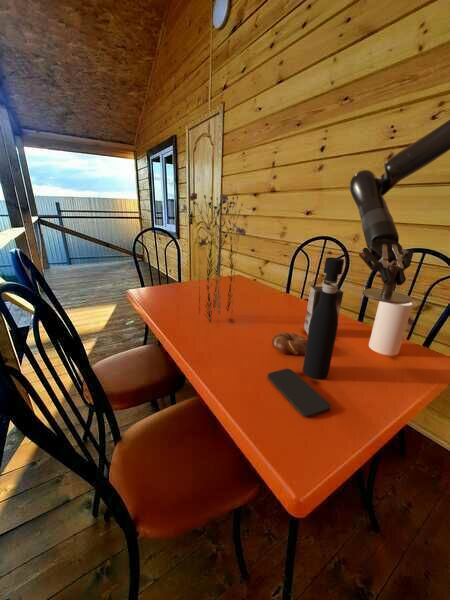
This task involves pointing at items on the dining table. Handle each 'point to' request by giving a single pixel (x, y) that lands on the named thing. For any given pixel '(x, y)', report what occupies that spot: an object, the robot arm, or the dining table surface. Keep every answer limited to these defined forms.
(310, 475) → the dining table surface
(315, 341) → the dark water bottle
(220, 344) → the dining table surface
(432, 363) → the dining table surface
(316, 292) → the coffee box
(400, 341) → the cup
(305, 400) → the phone
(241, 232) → the wildflower
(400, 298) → the lid
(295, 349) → the pretzel
